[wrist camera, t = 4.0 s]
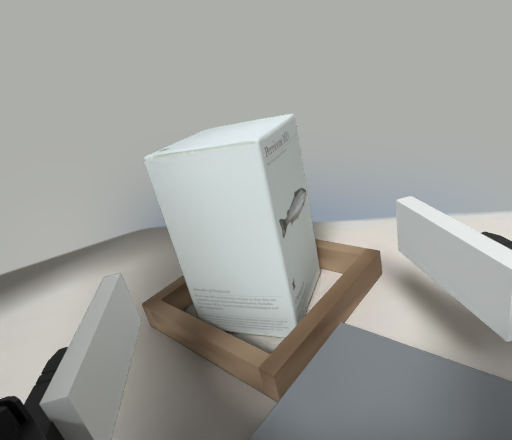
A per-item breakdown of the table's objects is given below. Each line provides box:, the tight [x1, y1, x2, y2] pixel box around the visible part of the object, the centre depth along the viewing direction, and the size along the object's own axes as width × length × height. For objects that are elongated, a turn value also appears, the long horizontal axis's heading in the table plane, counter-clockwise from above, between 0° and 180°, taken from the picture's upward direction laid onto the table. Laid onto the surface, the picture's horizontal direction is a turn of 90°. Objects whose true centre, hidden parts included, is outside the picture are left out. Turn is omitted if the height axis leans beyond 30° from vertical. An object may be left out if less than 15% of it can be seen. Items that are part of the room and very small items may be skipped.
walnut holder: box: [142, 239, 382, 402], centre depth 25 cm, size 12×12×2 cm
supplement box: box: [144, 114, 320, 338], centre depth 23 cm, size 7×7×13 cm
